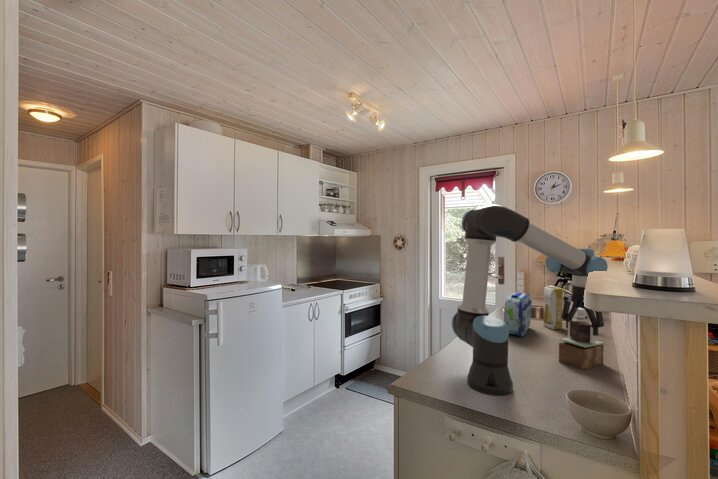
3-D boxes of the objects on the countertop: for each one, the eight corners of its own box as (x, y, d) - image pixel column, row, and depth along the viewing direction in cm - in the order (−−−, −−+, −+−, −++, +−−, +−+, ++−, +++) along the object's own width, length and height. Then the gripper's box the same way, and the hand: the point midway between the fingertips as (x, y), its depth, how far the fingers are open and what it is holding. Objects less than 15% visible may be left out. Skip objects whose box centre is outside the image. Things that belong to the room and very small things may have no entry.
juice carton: (541, 325, 196) (542, 284, 195) (553, 325, 197) (554, 284, 196) (552, 330, 186) (553, 287, 186) (565, 329, 187) (566, 287, 187)
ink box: (586, 330, 186) (586, 309, 186) (577, 330, 186) (577, 309, 186) (576, 326, 195) (576, 305, 194) (567, 326, 195) (568, 305, 194)
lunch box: (524, 339, 170) (525, 298, 169) (501, 335, 176) (502, 296, 175) (532, 327, 191) (533, 291, 190) (512, 324, 197) (513, 289, 197)
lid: (585, 347, 132) (585, 346, 132) (560, 340, 141) (560, 338, 141) (603, 343, 139) (603, 342, 139) (578, 337, 148) (578, 335, 148)
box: (593, 343, 136) (593, 325, 136) (576, 342, 137) (577, 324, 137) (585, 338, 142) (586, 321, 142) (570, 337, 143) (570, 320, 143)
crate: (583, 370, 132) (584, 350, 132) (558, 361, 141) (559, 342, 141) (603, 363, 139) (603, 344, 139) (577, 355, 148) (578, 337, 148)
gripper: (616, 288, 132) (614, 346, 132) (562, 281, 150) (561, 331, 151) (606, 290, 128) (604, 349, 129) (552, 282, 147) (551, 333, 147)
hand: (581, 339), depth 140 cm, fingers closed on box, 8 cm apart
